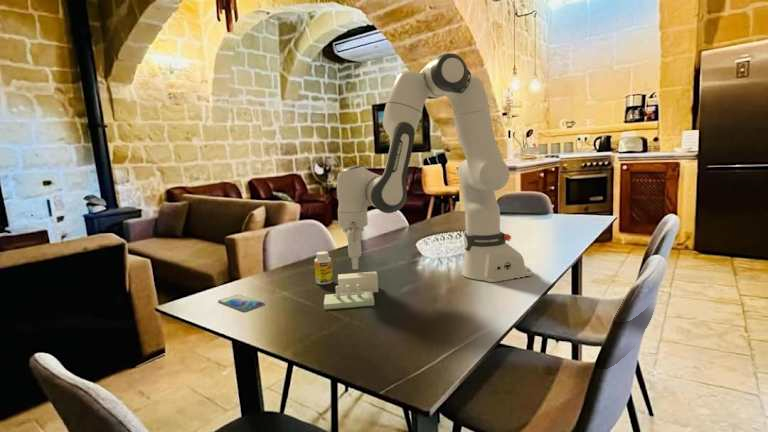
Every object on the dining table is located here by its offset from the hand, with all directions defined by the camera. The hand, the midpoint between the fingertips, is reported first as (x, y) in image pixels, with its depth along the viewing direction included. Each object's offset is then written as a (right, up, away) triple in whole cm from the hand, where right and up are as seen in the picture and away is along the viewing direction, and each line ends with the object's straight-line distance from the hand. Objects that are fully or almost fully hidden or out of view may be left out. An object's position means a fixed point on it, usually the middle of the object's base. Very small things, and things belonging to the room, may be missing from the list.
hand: (354, 264), depth 130 cm
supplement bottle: (-11, -8, +12) cm, 18 cm away
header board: (-1, -10, -8) cm, 13 cm away
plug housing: (+1, -8, +1) cm, 8 cm away
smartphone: (-34, -12, -4) cm, 36 cm away
